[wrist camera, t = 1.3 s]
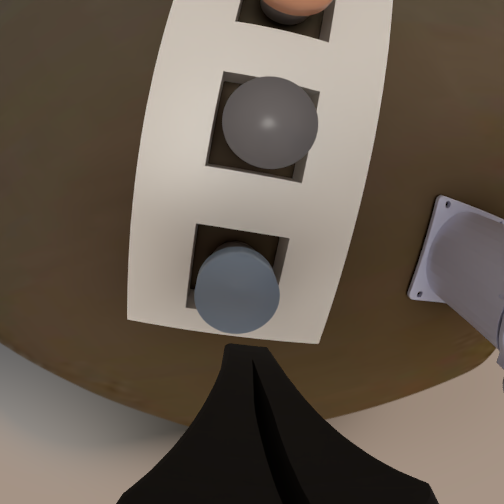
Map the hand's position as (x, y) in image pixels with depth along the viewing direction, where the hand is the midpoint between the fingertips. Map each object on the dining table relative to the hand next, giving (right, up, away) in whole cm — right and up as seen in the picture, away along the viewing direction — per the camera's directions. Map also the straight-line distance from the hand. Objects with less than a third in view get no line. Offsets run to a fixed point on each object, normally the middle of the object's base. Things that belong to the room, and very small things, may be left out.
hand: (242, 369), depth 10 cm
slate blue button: (-1, +3, +9) cm, 9 cm away
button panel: (+1, +11, +7) cm, 13 cm away
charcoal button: (+1, +10, +6) cm, 12 cm away
